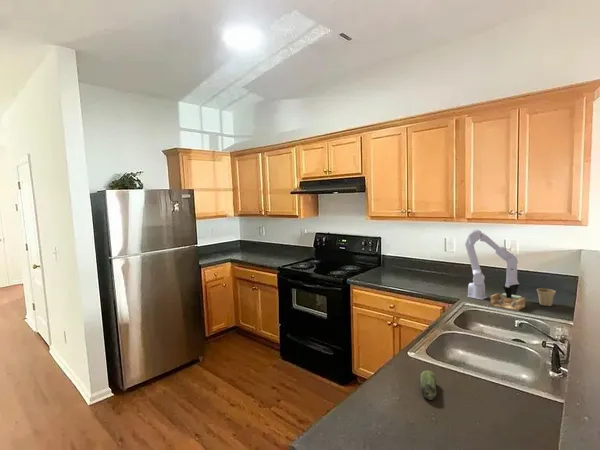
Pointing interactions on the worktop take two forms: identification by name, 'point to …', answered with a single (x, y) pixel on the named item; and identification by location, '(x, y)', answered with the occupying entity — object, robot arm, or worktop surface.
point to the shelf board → (511, 296)
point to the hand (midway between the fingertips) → (511, 296)
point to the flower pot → (546, 296)
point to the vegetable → (428, 384)
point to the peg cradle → (507, 302)
